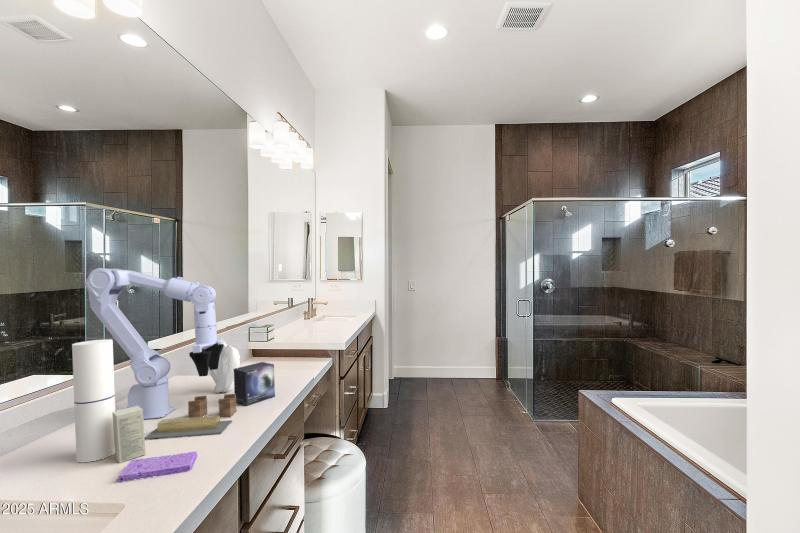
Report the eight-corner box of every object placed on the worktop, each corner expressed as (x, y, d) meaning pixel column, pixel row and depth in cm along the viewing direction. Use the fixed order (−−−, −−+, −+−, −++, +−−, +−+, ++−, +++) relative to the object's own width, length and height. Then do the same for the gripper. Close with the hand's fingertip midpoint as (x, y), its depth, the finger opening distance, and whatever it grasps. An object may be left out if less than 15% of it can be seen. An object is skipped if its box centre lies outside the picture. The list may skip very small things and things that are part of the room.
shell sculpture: (232, 394, 130) (230, 339, 131) (207, 396, 131) (204, 340, 131) (242, 387, 139) (240, 335, 139) (219, 388, 139) (216, 336, 139)
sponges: (131, 468, 83) (131, 459, 83) (198, 458, 86) (198, 449, 86) (117, 485, 76) (117, 475, 76) (191, 473, 79) (190, 464, 79)
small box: (246, 407, 118) (244, 371, 118) (233, 403, 121) (232, 368, 122) (276, 396, 126) (274, 363, 126) (263, 393, 130) (262, 361, 130)
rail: (157, 433, 99) (157, 423, 99) (163, 429, 102) (162, 419, 102) (216, 428, 100) (215, 419, 100) (220, 424, 103) (219, 415, 103)
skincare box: (141, 449, 91) (139, 404, 91) (146, 455, 88) (144, 408, 88) (113, 457, 87) (111, 411, 87) (117, 464, 84) (115, 415, 84)
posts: (188, 420, 108) (188, 401, 108) (196, 414, 113) (195, 396, 113) (230, 417, 109) (230, 398, 109) (236, 411, 114) (235, 393, 114)
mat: (143, 439, 96) (143, 438, 96) (160, 427, 104) (160, 425, 104) (220, 433, 98) (220, 432, 98) (231, 421, 106) (231, 420, 106)
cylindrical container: (84, 465, 84) (80, 345, 84) (70, 458, 88) (66, 344, 88) (123, 451, 90) (118, 340, 90) (108, 445, 94) (104, 338, 94)
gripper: (210, 328, 111) (213, 377, 111) (228, 322, 126) (231, 365, 126) (183, 330, 111) (186, 380, 111) (205, 324, 125) (208, 367, 125)
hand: (208, 372), depth 118 cm, fingers open, 7 cm apart
